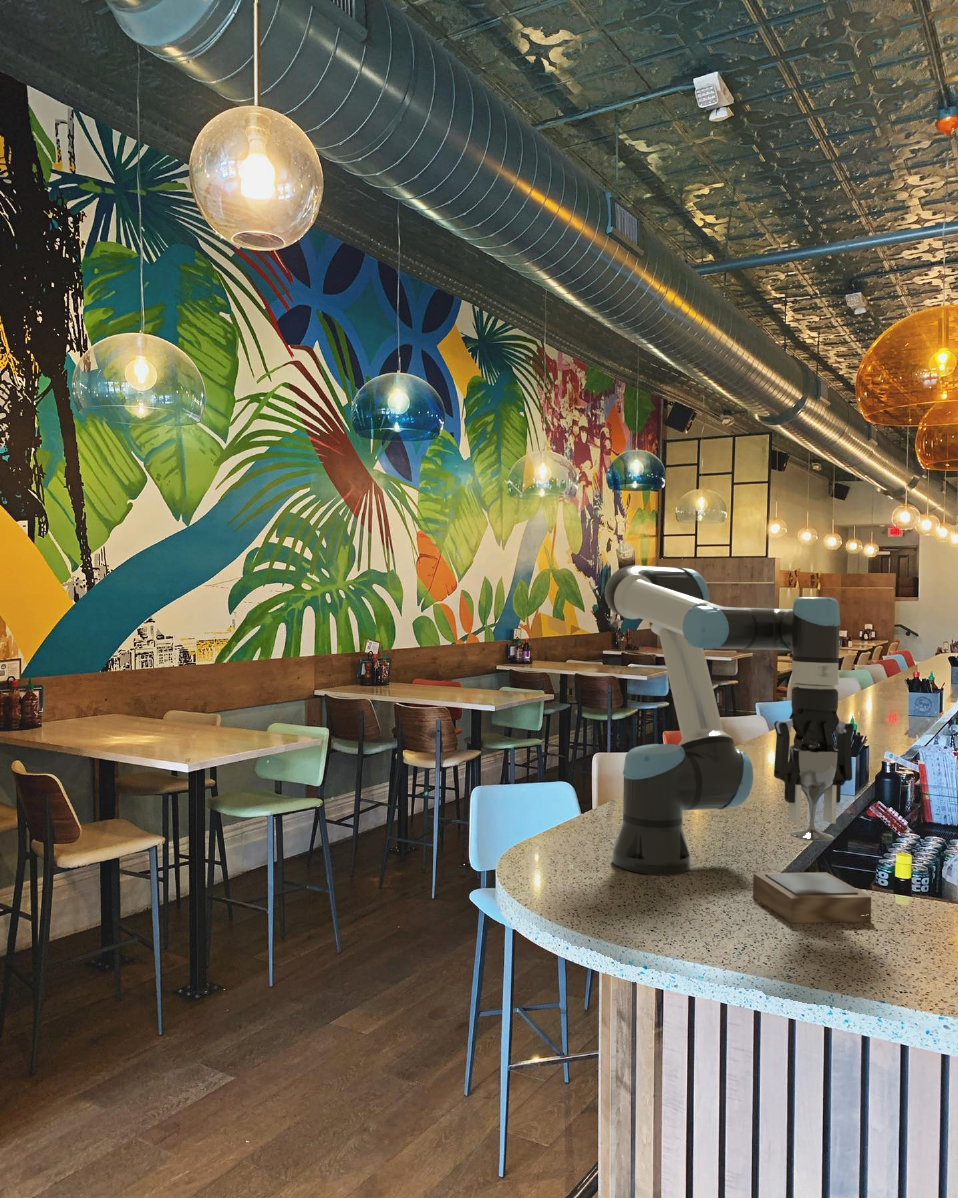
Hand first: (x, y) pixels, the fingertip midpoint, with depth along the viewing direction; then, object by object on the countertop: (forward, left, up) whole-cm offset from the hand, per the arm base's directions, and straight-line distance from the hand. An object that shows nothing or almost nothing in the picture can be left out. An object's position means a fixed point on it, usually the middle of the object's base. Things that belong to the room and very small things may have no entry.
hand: (812, 821), depth 153 cm
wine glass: (0, 0, -3) cm, 3 cm away
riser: (0, 0, -15) cm, 15 cm away
